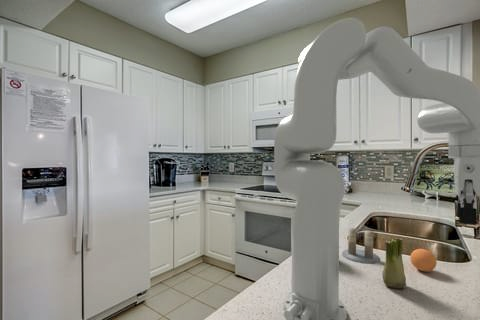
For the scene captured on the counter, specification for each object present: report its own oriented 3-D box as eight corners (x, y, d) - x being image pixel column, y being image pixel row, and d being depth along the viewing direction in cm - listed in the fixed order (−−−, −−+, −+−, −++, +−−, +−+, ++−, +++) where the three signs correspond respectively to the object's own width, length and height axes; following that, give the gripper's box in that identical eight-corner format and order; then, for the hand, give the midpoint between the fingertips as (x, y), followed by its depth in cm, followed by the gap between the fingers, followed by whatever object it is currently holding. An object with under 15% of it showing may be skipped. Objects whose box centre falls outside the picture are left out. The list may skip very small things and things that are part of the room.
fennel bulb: (387, 290, 60) (387, 241, 60) (376, 280, 65) (377, 235, 65) (411, 291, 60) (412, 241, 60) (399, 281, 65) (399, 235, 65)
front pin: (372, 260, 78) (372, 233, 78) (363, 258, 79) (363, 231, 79) (373, 257, 80) (373, 231, 80) (365, 255, 81) (365, 229, 81)
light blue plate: (375, 266, 73) (375, 265, 73) (337, 257, 80) (337, 256, 80) (382, 254, 82) (382, 254, 82) (347, 247, 89) (347, 246, 89)
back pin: (355, 256, 81) (355, 230, 81) (347, 254, 82) (347, 228, 82) (356, 253, 83) (357, 228, 83) (349, 252, 84) (349, 227, 84)
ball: (436, 277, 67) (436, 255, 66) (409, 271, 70) (409, 250, 70) (436, 269, 71) (436, 248, 71) (411, 264, 75) (411, 244, 75)
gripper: (493, 152, 56) (492, 231, 56) (482, 152, 69) (481, 216, 69) (449, 152, 60) (448, 225, 60) (447, 153, 74) (446, 212, 74)
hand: (466, 220), depth 65 cm, fingers open, 7 cm apart
